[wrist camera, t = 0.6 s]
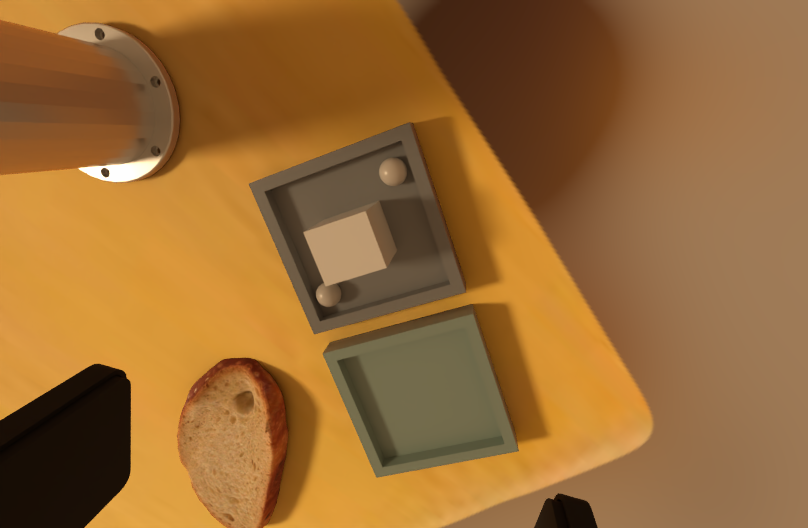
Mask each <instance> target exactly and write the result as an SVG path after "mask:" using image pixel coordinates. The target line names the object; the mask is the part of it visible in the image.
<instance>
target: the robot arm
mask: <svg viewBox="0 0 808 528" xmlns="http://www.w3.org/2000/svg"><path fill="white" fill-rule="evenodd" d="M179 125H180V115H179V104H178V100H177V96H176V92H175V89H174V86H173V84H172V81H171V79H170V77H169V75H168V73H167V71H166V70H165V68H164V66H163V65H162V63H161V61H160V60H159V59H158V58H157V57H156V55H155V54H154V53H153V52H152V51H151V49H149V48H148V47H147V46H146V45H145V44H144V43H142V42H141V41H140V40H139V39H138V38H136V37H134V36H132V35H131V34H129V33H127V32H126V31H123V30H120V29H118V28H115V27H112V26H109V25H105V24H101V23H80V24H76V25H71V26H69V27H67V28H65V29H64V30H62V31H60V32H59V33H57V34H55V33H51V32H47V31H43V30H39V29H35V28H31V27H27V26H23V25H19V24H15V23H11V22H7V21H3V20H0V175H6V174H18V173H29V172H41V171H52V170H64V169H75V168H78V169H79V170H81V171H83V172H85V173H86V174H88V175H90V176H92V177H95V178H97V179H100V180H103V181H108V182H114V183H123V182H132V181H138V180H142V179H144V178H147V177H149V176H151V175H153V174H154V173H156V172H157V171H158V170H160V169H161V168H162V167H163V166H164V164H165V163H166V162H167V161H168V160H169V158H170V156H171V154H172V152H173V151H174V149H175V146H176V142H177V139H178V135H179ZM130 467H131V384H130V381H129V380H128V379H127V378H126V374H125V372H124V371H122V370H119V369H116V368H112V367H109V366H105V365H101V364H94V365H92V366H89V367H88V368H86V369H84V370H83V371H81V372H79V373H78V374H76V375H74V376H73V377H71V378H70V379H68V380H66V381H65V382H63V383H61V384H60V385H58V386H56V387H55V388H53V389H51V390H50V391H48V392H46V393H45V394H43V395H42V396H40V397H38V398H37V399H35V400H33V401H32V402H30V403H28V404H27V405H25V406H23V407H22V408H20V409H18V410H17V411H15V412H14V413H12V414H10V415H9V416H7V417H5V418H4V419H2V420H0V528H84V527H85V526H86V525H87V524H88V523H89V522H90V521H91V520H92V519H93V518H94V517H95V516H96V515H97V514H98V513H99V512H100V511H101V510H102V509H103V508H104V507H105V506H106V505H107V504H108V503H109V502H110V501H111V500H112V499H113V498H114V497H115V496H116V495H117V494H118V493H119V492H120V491H121V489H122V488H123V487H124V486H125V484H126V483H127V481H128V479H129V476H130ZM534 528H597V525H596V521H595V518H594V515H593V512H592V509H591V507H590V505H589V503H588V502H587V501H584V500H581V499H578V498H574V497H570V496H567V495H563V494H557V495H556V497H555V498H554V500H553V499H550V498H548V499H546V501H545V503H544V505H543V508H542V510H541V512H540V515H539V517H538V520H537V522H536V525H535V527H534Z"/></svg>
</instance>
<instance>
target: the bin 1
mask: <svg viewBox="0 0 808 528" xmlns="http://www.w3.org/2000/svg"><path fill="white" fill-rule="evenodd" d="M249 186H250V188H251V190H252V193H253V195H254V197H255V199H256V202H257V204H258V206H259V209H260V211H261V213H262V216H263V218H264V220H265V222H266V225H267V227H268V229H269V232H270V234H271V236H272V239H273V241H274V243H275V245H276V248H277V250H278V252H279V255H280V257H281V259H282V261H283V264H284V266H285V268H286V271H287V273H288V275H289V278H290V280H291V282H292V284H293V287H294V289H295V291H296V294H297V296H298V298H299V301H300V303H301V305H302V307H303V310H304V312H305V314H306V317H307V319H308V321H309V324H310V326H311V328H312V330H313V333H314V334H317V333H321V332H324V331H328V330H332V329H335V328H339V327H342V326H346V325H350V324H353V323H357V322H360V321H364V320H368V319H371V318H375V317H378V316H382V315H386V314H389V313H393V312H396V311H400V310H404V309H407V308H411V307H414V306H418V305H422V304H425V303H429V302H432V301H436V300H440V299H443V298H447V297H450V296H454V295H458V294H461V293H465V292H466V282H465V279H464V276H463V273H462V270H461V267H460V264H459V261H458V258H457V255H456V252H455V249H454V246H453V243H452V240H451V237H450V234H449V231H448V228H447V225H446V222H445V219H444V216H443V213H442V210H441V207H440V204H439V200H438V197H437V194H436V191H435V188H434V185H433V182H432V179H431V176H430V173H429V170H428V167H427V164H426V161H425V158H424V155H423V152H422V149H421V146H420V143H419V140H418V137H417V134H416V131H415V128H414V125H413V123H410V122H409V123H407V124H404V125H401V126H399V127H396V128H393V129H391V130H388V131H386V132H383V133H380V134H378V135H375V136H373V137H370V138H367V139H365V140H362V141H359V142H357V143H354V144H352V145H349V146H346V147H344V148H341V149H339V150H336V151H333V152H331V153H328V154H325V155H323V156H320V157H318V158H315V159H312V160H310V161H307V162H304V163H302V164H299V165H297V166H294V167H291V168H289V169H286V170H284V171H281V172H278V173H276V174H273V175H270V176H268V177H265V178H263V179H260V180H257V181H255V182H252V183H249ZM377 201H379V202H380V204H381V207H382V210H383V213H384V215H385V218H386V221H387V224H388V226H389V229H390V232H391V235H392V237H393V240H394V243H395V246H396V248H397V251H396V253H395V255H394V257H393V258H392V260H391V262H390V263H389V265H388V267H387V268H385V269H382V270H378V271H375V272H372V273H368V274H365V275H362V276H359V277H355V278H352V279H349V280H345V281H342V282H339V283H336V284H332V285H329V286H325V284H324V281H323V279H322V277H321V274H320V272H319V269H318V267H317V265H316V262H315V260H314V257H313V255H312V253H311V250H310V248H309V245H308V243H307V240H306V238H305V236H304V233H303V232H304V231H306V230H308V229H309V228H311V227H313V226H314V225H316V224H318V223H319V222H321V221H323V220H324V219H327V218H330V217H333V216H336V215H339V214H342V213H345V212H348V211H351V210H353V209H356V208H359V207H362V206H365V205H368V204H371V203H374V202H377Z"/></svg>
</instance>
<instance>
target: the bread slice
mask: <svg viewBox="0 0 808 528" xmlns="http://www.w3.org/2000/svg"><path fill="white" fill-rule="evenodd" d="M178 429H179V430H178V435H177V438H178V450H179V457H180V460H181V462H182V464H183V465H184V467H185V468H186V469H187V471H188V473H189V477H190V479H191V483H192V487H193V489H194V491H195V493H196V494H197V496H198V498H199V500H200V501H201V502H202V503H203V505H204V506H205V507H206V508H207V509H208V511H209V512H210V514H211V515H212V516H213V517H214V518H216V519H217V520H218V521H219V522H220V523H221V524H223V525H224V526H226V527H228V528H263V527H264V526H265V525H266V524H267V523H268V522H269V520H270V517H271V515H272V513H273V510H274V508H275V505H276V503H277V497H278V494H279V486H280V482H281V476H282V472H283V468H284V463H285V458H286V451H287V441H288V427H287V424H286V412H285V404H284V399H283V395H282V393H281V391H280V389H279V387H278V385H277V384H276V382H275V381H274V379H273V378H272V376H271V375H270V374H269V373H268V372H267V371H266V370H264V369H263V368H262V367H261V365H260V364H259V363H258V362H257V361H256V360H254V359H251V358H231V359H224V360H222V361H220V362H219V363H218V364H216V365H215V366H214V367H213V368H211V369H210V370H209V371H208V372H207V373H206V374H204V375H203V376H202V377H201V378H200V379H199V380H198V381H197V382H196V383H195V384H194V385H193V386H192V388H191V390H190V392H189V394H188V397H187V400H186V403H185V405H184V408H183V410H182V413H181V416H180V422H179V427H178Z"/></svg>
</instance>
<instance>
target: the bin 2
mask: <svg viewBox="0 0 808 528" xmlns="http://www.w3.org/2000/svg"><path fill="white" fill-rule="evenodd" d="M323 356H324V358H325V360H326V363H327V365H328V367H329V369H330V372H331V374H332V376H333V379H334V381H335V383H336V386H337V388H338V390H339V392H340V395H341V397H342V399H343V402H344V404H345V406H346V409H347V411H348V413H349V415H350V418H351V420H352V422H353V425H354V427H355V429H356V431H357V434H358V436H359V438H360V441H361V443H362V445H363V448H364V450H365V452H366V454H367V457H368V459H369V461H370V464H371V466H372V468H373V471H374V473H375V475H376V477H382V476H388V475H393V474H398V473H404V472H409V471H415V470H420V469H425V468H431V467H436V466H442V465H447V464H452V463H458V462H463V461H468V460H474V459H479V458H485V457H490V456H495V455H501V454H506V453H512V452H517V451H519V450H518V444H517V438H516V433H515V430H514V427H513V424H512V421H511V418H510V415H509V412H508V409H507V406H506V403H505V400H504V397H503V394H502V391H501V388H500V385H499V382H498V379H497V376H496V373H495V370H494V367H493V364H492V361H491V358H490V355H489V352H488V349H487V346H486V343H485V340H484V337H483V334H482V331H481V328H480V325H479V322H478V319H477V315H476V312H475V309H474V306H473V304H470V305H467V306H463V307H459V308H455V309H452V310H448V311H444V312H441V313H437V314H433V315H430V316H426V317H422V318H418V319H415V320H411V321H407V322H404V323H400V324H396V325H393V326H389V327H385V328H381V329H378V330H374V331H370V332H367V333H363V334H359V335H356V336H352V337H348V338H344V339H341V340H337V341H333V342H330V343H329V345H328V346H327V348H326V349H325V351H324V352H323Z"/></svg>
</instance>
